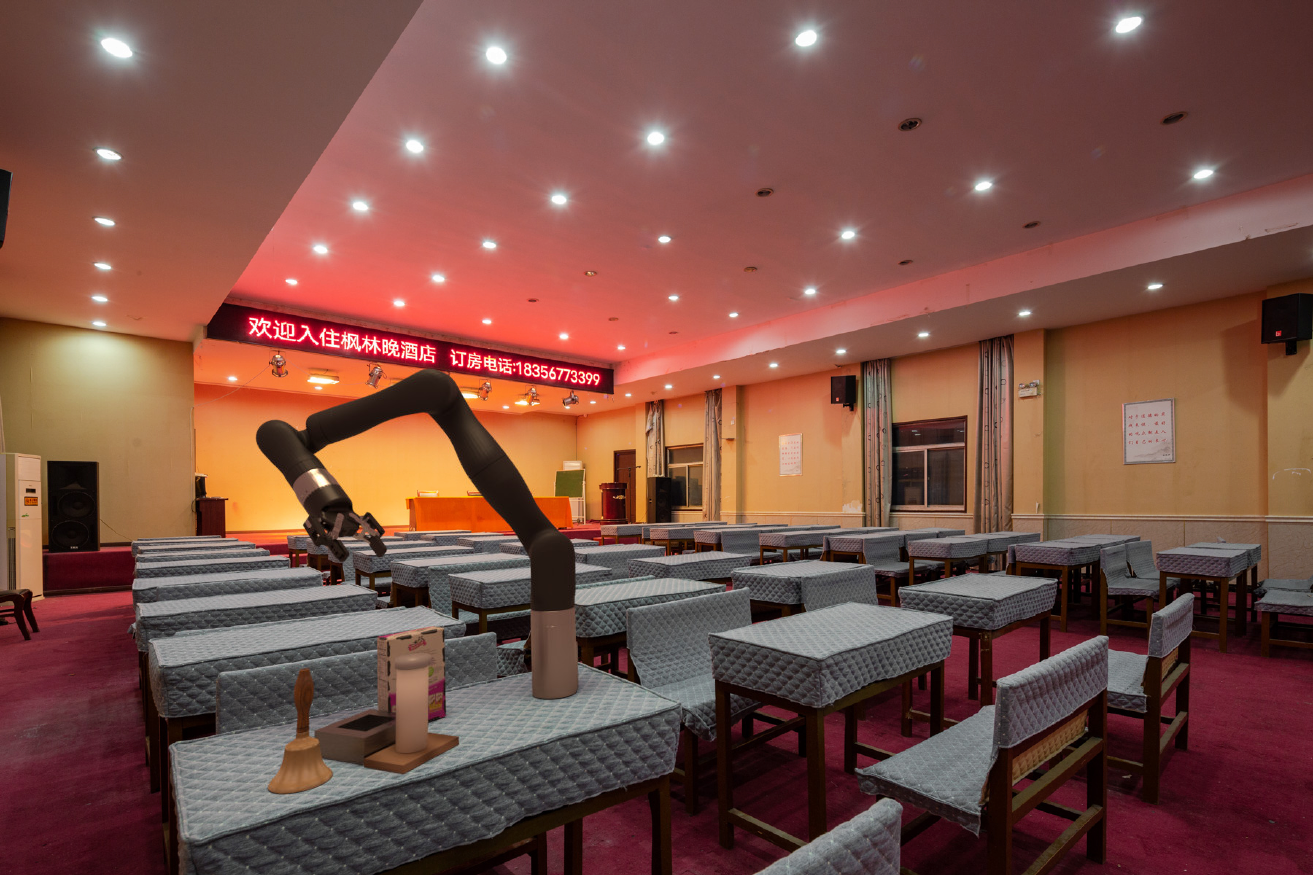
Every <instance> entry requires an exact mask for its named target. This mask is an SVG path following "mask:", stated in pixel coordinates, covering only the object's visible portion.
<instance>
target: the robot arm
mask: <svg viewBox="0 0 1313 875" xmlns="http://www.w3.org/2000/svg"><path fill="white" fill-rule="evenodd" d="M422 413H425V414H428V415H429V416H430V418H432V420H433V421H434V422H435V423H436V424H437V425H438V426H439V428H440V429H441V430H442V431H443V433H444V434H445V435H446V436H447V437H448V440H449V441H450V443H451V445H452V446H453V447H452V448H453V449H454V452H455V454H456V456H457V459H458V461H459V463H460V465H461V467H462V469H463V471H464V473H465V474H466V476H467V478H468V479H469V480H470V482H471V483H472V484H473V486H474V487H475V489H476V490H477V491H478V493H479V494H480V495H481V497H482V498H483V499H484V500H485V501H486V502H487V503H488V504H489V506H490V507H491V508H492V509H493V510H494V511H495V512H496V514H497V515H499V516H500V517H501V518H502V519H503V520H504V521H505V522H506V524H507V525H508V526H509V527H510V528H511V530H512V531H513V532H514V534H515V535H516V537H517V539H518V540H519V542H520V543H521V545H522V547H523V549H524V551H525V552H526V554H527V556H528V558H529V560H530V562H529V563H530V600H529V601H530V640H531V641H530V642H531V647H530V648H531V689H532V691H531V692H532V693H531V694H532V696H533V697H534V698H538V699H546V700H548V699H549V700H551V699H560V698H566V697H570V696H573V695H574V694H576V692H577V691H578V688H579V657H578V654H579V653H578V651H579V650H578V641H576V640H577V639H576V638H577V637H576V634H577V633H576V593H577V588H576V586H577V582H576V581H577V580H576V577H577V576H576V575H577V574H576V567H577V566H576V565H577V564H576V551H575V546H574V543H573V542H572V540H571V539H570V538H569V536H567V535H566V534H564V533H562V532H561V531H560V530H559V529H558V528H557V527H556V526H555V525H554V523H552V521H550V519H549V518H548V517H547V515H546V514H544V512H543V511H542V510H541V508H540V507H539V505H538V503H537V502H536V500H535V499H534V495H533V493H532V492H531V491H530V488H529V486H528V485H527V483H526V480H525V479H524V477H523V475H522V473H520V471H519V470H518V468H517V466H516V465H515V463H514V462H513V461H512V460H511V458H510V456H509V455H507V453H506V451H505V450H504V449H503V448H502V447H501V445H500V444H499V442H498V441H497V440H496V439H495V438H494V437H493V435H492V434H491V433H490V432H489V431H488V430H487V428H485V426H484V425H483V424H482V423H481V421H479V420H478V418H477V417H476V415H475V414H474V412H473V410H472V408H471V407H470V405H469V403H468V402H467V400H466V399H465V397H464V395H463V393H462V391H461V390H460V388H459V386H458V384H457V382H456V381H455V379H453V377H451V376H450V375H449V374H447V373H446V372H443V371H441V370H438V369H434V368H423V369H421V370H419V371H415V373H413V374H411V375H409V376H407V377H405V378H403V379H401V380H400V381H398V382H396V383H394V384H392V385H390V386H388V387H386V388H384V389H382V390H379V391H377V392H375V393H374V392H373V393H371V394H368V395H366V396H363V397H360V398H357V399H353V400H350V401H346V402H344V403H341V404H337V405H335V406H332V407H329V408H326V409H323V410H320V411H317V412H314V413H312V414H310V415H308V417H306V420H305V428H304V429H302V430H298V429H297V428H295V427H294V426H292V425H291V424H290V423H288V422H286V421H285V420H280V419H270V420H267V421H265V422H263V423H262V424H261V425H260V426H258V428H257V431H256V433H255V442H256V445H257V448H258V449H259V451H260V452H261V453H262V454H263V455H264V457H265V458H266V459H268V461H269V462H270V463H271V464H272V465H273V466H274V467H275V468H276V469H277V470H278V471H279V472H280V473H281V474H282V476H283V477H284V479H285V481H286V482H287V483H288V485H289V487H290V488H291V489H292V491H293V492H294V494H295V496H296V499H297V500H298V502H299V503H300V504H301V506H302V508H304V510H305V512H306V513H307V515H308V516H307V518H306V519H305V521H304V522H303V523H302V527H303V528H304V529H305V532H306V533H307V535H308V537H309V538H310V540H311V542H312V543H313V545H314V546H315V547H317V548H319V547H321V546H324V547H325V548H326V549H329V550H330V551H331V554H333V556H334V558H336V559H337V560H338V561H339V562H340V563H342V562H346V561H347V559H348V558H349V557H350V551H349V550H348V548H347V547H346V546H345V544H344V543H343V541H342V540H341V539H340V538H344V537H349V538H350V537H352V538H353V539H356V540H357V541H361V540H362V541H364V542H365V543H367V544H368V545H369V547H370V548H371V550H372V552H374V554H375V555H376V557H377V558H383V557H384V556H385V554H387V551H388V547H387V545H386V544H385V543H384V541H383V540H382V539H381V538H382V537H383V535H384V534H385V533H386V530H385V529H384V527H383V526H382V525H381V523H379V522H378V520H377V519H376V517H374V516H373V515H372V513H371V512H368V511H366V512H365V514H363V515H359V514H358V513H357V512H355V511H354V508H353V507H354V506H353V501H352V500H351V498H350V497H349V495H348V494H347V493H346V490H344V488H343V487H342V486H341V484H340V483H339V482H338V481H337V479H336V478H335V477H334V475H332V474H331V473H330V471H328V469H327V468H326V467H325V465H324V463H323V462H322V461H321V460H320V459H319V458H318V457H317V456H316V454H317V453H319V452H320V451H321V450H323V449H325V448H326V447H327V446H330V445H333V444H335V443H339V442H341V441H344V440H348V439H350V438H352V437H356V436H358V435H360V434H362V433H365V432H367V431H369V430H371V429H372V428H375V427H377V426H379V425H381V424H383V423H386V422H388V421H391V420H394V419H398V418H401V417H405V416H411V415H415V414H422ZM360 527H361V528H362V530H361V531H360V532H359V533H358V531H359V530H360ZM366 533H368V535H369V536H368V535H366Z"/></svg>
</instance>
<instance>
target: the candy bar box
mask: <svg viewBox="0 0 1313 875" xmlns="http://www.w3.org/2000/svg"><path fill="white" fill-rule="evenodd" d="M445 637H446V636H445V628H444V627H441V626H435V625H433V626H432V625H431V626H427V627H425V626H424V627H421V628H415V629H410V630H407V631H406V630H404V631H401V632H396V633H389V634H386V635H380V636H377V637H376V651H377V652H376V653H377V657H376V658H377V660H376V662H377V669H376V670H377V671H376V672H377V673H376V674H377V710H382V711H389V712H396V682H397V669H395V658H396V657H398V656H401V655H406V654H412V653H428V654H430V655H431V664H430V665H429V670H428V723H429V722H433V721H436V720H439V719H442V718H446V716H447V701H446V700H447V695H446V694H447V692H446V690H447V689H446V648H445V647H446V646H445V644H446V642H445V639H446V638H445Z"/></svg>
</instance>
